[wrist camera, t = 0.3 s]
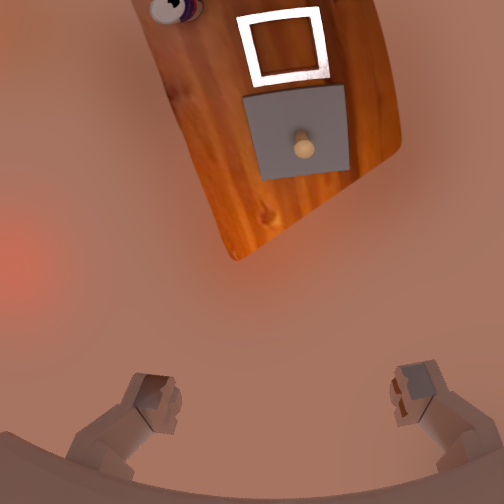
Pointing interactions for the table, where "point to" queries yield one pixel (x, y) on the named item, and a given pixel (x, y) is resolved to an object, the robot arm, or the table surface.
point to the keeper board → (299, 116)
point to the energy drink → (175, 10)
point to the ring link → (292, 74)
